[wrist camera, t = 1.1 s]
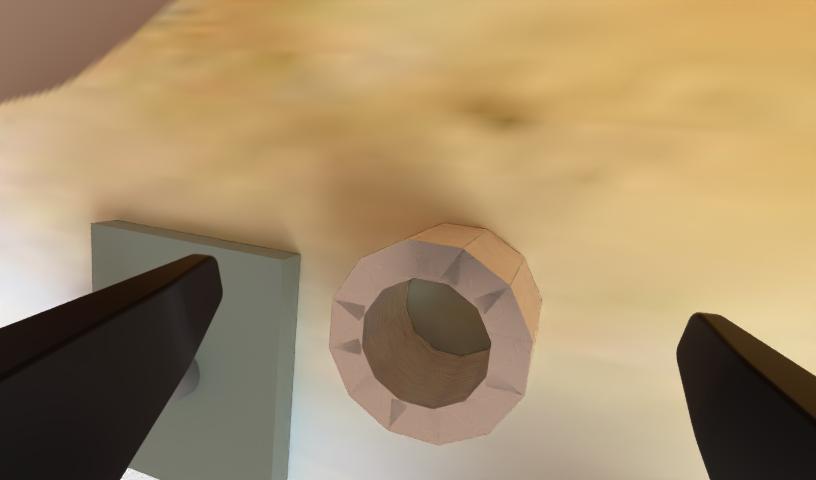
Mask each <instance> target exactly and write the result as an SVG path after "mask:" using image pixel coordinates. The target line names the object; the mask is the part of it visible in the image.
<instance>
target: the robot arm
mask: <svg viewBox="0 0 816 480" xmlns="http://www.w3.org/2000/svg"><path fill="white" fill-rule="evenodd" d="M222 297H223V287H222V282H221V277H220V271H219V266H218V262H217V260H216V258H215V257H214V256H212V255H204V254H191V255H188V256H186V257H183V258H181V259H178V260H175V261H173V262H170V263H168V264H165V265H162V266H160V267H157V268H155V269H152V270H150V271H147V272H144V273H142V274H139V275H137V276H134V277H131V278H129V279H126V280H124V281H121V282H119V283H116V284H113V285H111V286H108V287H106V288H103V289H101V290H98V291H95V292H93V293H90V294H88V295H85V296H82V297H80V298H77V299H75V300H72V301H70V302H67V303H64V304H62V305H59V306H57V307H54V308H51V309H49V310H46V311H44V312H41V313H39V314H36V315H33V316H31V317H28V318H26V319H23V320H20V321H18V322H15V323H13V324H10V325H8V326H5V327H2V328H0V480H120V479H121V478H122V476H123V474H124V473H125V471H126V470H127V468H128V466H129V465H130V463H131V461H132V460H133V458H134V457H135V455H136V453H137V452H138V450H139V448H140V447H141V445H142V444H143V442H144V440H145V439H146V437H147V436H148V434H149V432H150V431H151V429H152V427H153V426H154V424H155V423H156V421H157V419H158V418H159V416H160V414H161V413H162V411H163V410H164V408H165V406H166V405H167V403H168V401H169V400H170V398H171V397H172V395H173V393H174V392H175V390H176V388H177V387H178V385H179V384H180V382H181V380H182V379H183V377H184V375H185V374H186V372H187V370H188V369H189V367H190V365H191V363H192V361H193V359H194V358H195V356H196V354H197V351H198V349H199V347H200V345H201V343H202V341H203V339H204V337H205V335H206V332H207V330H208V328H209V326H210V324H211V322H212V320H213V318H214V316H215V314H216V311H217V309H218V307H219V305H220V303H221V300H222ZM676 356H677V363H678V367H679V371H680V376H681V380H682V384H683V389H684V393H685V397H686V402H687V406H688V410H689V415H690V419H691V423H692V427H693V431H694V434H695V438H696V441H697V444H698V447H699V450H700V453H701V456H702V458H703V461H704V464H705V467H706V470H707V472H708V475H709V478H710V480H816V376H814V375H813V374H811V373H810V372H808V371H807V370H805V369H804V368H802V367H800V366H799V365H797V364H796V363H794V362H793V361H791V360H790V359H788V358H787V357H785V356H783V355H782V354H780V353H779V352H777V351H776V350H774V349H773V348H771V347H769V346H768V345H766V344H765V343H763V342H762V341H760V340H759V339H757V338H756V337H754V336H752V335H751V334H749V333H748V332H746V331H745V330H743V329H742V328H740V327H738V326H737V325H735V324H734V323H732V322H731V321H729V320H728V319H726V318H724V317H723V316H721V315H718V314H709V313H700V312H697V313H695V314H693V315H692V316H691V317H690V319H689V321H688V323H687V326H686V328H685V330H684V333H683V335H682V337H681V340H680V342H679V344H678V347H677V353H676Z"/></svg>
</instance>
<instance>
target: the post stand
mask: <svg viewBox="0 0 816 480" xmlns="http://www.w3.org/2000/svg"><path fill="white" fill-rule="evenodd" d="M91 242H92V284H93V292H95V291H98V290H101V289H103V288H106V287H108V286H111V285H113V284H116V283H119V282H121V281H124V280H126V279H129V278H131V277H134V276H137V275H139V274H142V273H144V272H147V271H150V270H152V269H155V268H157V267H160V266H162V265H165V264H168V263H170V262H173V261H175V260H178V259H181V258H183V257H186V256H188V255H191V254H204V255H212V256H214V257H215V258H216V260H217V262H218V266H219V271H220V277H221V282H222V287H223V297H222V300H221V303H220V305H219V307H218V309H217V311H216V314H215V316H214V318H213V320H212V322H211V324H210V326H209V328H208V330H207V332H206V335H205V337H204V339H203V341H202V343H201V345H200V347H199V349H198V351H197V354H196V356H195V358H194V359H193V361H192V363H191V365H190V367H189V369H188V370H187V372H186V374H185V375H184V377H183V379H182V380H181V382H180V384H179V385H178V387H177V388H176V390H175V392H174V393H173V395H172V397H171V398H170V400H169V401H168V403H167V405H166V406H165V408H164V410H163V411H162V413H161V414H160V416H159V418H158V419H157V421H156V423H155V424H154V426H153V427H152V429H151V431H150V432H149V434H148V436H147V437H146V439H145V440H144V442H143V444H142V445H141V447H140V448H139V450H138V452H137V453H136V455H135V457H134V458H133V460H132V461H131V463H130V465H129V466H128V468H131V469H134V470H136V471H139V472H141V473H144V474H147V475H149V476H152V477H154V478H157V479H159V480H287V471H288V455H289V438H290V421H291V404H292V388H293V371H294V354H295V338H296V321H297V304H298V288H299V271H300V254H295V253H290V252H284V251H279V250H274V249H268V248H263V247H257V246H252V245H247V244H241V243H236V242H231V241H225V240H220V239H214V238H209V237H204V236H198V235H193V234H187V233H182V232H177V231H171V230H166V229H161V228H155V227H150V226H144V225H139V224H134V223H128V222H123V221H117V220H114V221H105V222H97V223H91Z"/></svg>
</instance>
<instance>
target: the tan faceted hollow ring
mask: <svg viewBox="0 0 816 480" xmlns="http://www.w3.org/2000/svg"><path fill="white" fill-rule="evenodd" d="M412 278H417V279H422V280H428V281H433V282H438V283H444V284H448V285H450V286H451V287H452V288H453V289H454V290H456V291H457V292H458V293H459V294H461V295H462V296H463V297H464V298H465V299H467V300H468V301H469V302H470V303H472V304H473V305H474V306H475V307H476V308H477V309H478V311H479V314H480V316H481V318H482V321H483V323H484V326H485V328H486V331H487V333H488V335H489V338H490V340H491V346H490V347H489V349H486V350H483V351H479V352H476V353H473V354H469V355H466V356H459V355H455V354H450V353H446V352H442V351H438V350H436V349H435V348H433V347H432V346H431V345H430V344H429V343H428V342H426V341H425V340H424V339H423V338H422V337H421V336H419V335H418V334H417V333H416V331H415V329H414V326H413V324H412V322H411V319H410V317H409V314H408V312H407V310H406V303H407V294H408V284H409V282H410V280H411V279H412ZM541 302H542V299H541V297H540V295H539V292H538V290H537V287H536V285H535V283H534V280H533V278H532V275H531V273H530V270H529V268H528V266H527V263H526V261H525V258H524V257H523V256H521V255H520V254H519V253H518V252H516V251H515V250H514V249H512V248H511V247H510V246H509V245H507V244H506V243H505V242H503V241H502V240H501V239H500V238H498V237H497V236H496V235H494V234H493V233H492V232H491V231H489V230H487V229H482V228H475V227H468V226H462V225H455V224H448V223H443V224H440V225H438V226H435V227H433V228H431V229H428V230H426V231H423V232H421V233H418V234H416V235H414V236H411V237H409V238H406V239H404V240H402V241H400V242H397V243H395V244H393V245H390V246H388V247H386V248H384V249H381V250H379V251H377V252H374V253H372V254H370V255H368V256H365V257H363V258H361V259H360V260H359V261H358V263H357V264H356V266H355V267H354V269H353V270H352V271H351V273H350V274H349V276H348V277H347V279H346V280H345V282H344V283H343V284H342V286H341V287H340V289H339V290H338V292H337V293H336V295H335V296H334V297H333V302H332V315H331V329H330V342H329V347H330V348H329V349H330V351H331V353H332V356H333V358H334V361H335V363H336V365H337V368H338V370H339V373H340V375H341V377H342V380H343V382H344V384H345V387H346V389H347V392H348V394H350V395H349V396H351V397H352V398H353V399H354V400H355V401H356V402H357V403H358V404H359V405H360V406H362V407H363V408H364V409H365V410H366V411H367V412H368V413H369V414H370V415H371V416H373V417H374V418H375V419H376V420H377V421H378V422H379V423H380V424H381V425H383V426H384V427H385V428H386V429H387V430H388V431H392V432H395V433H398V434H402V435H405V436H409V437H412V438H415V439H419V440H422V441H426V442H429V443H432V444H436V445H442V444H446V443H450V442H455V441H459V440H463V439H468V438H472V437H477V436H481V435H485V434H488V433H490V432H491V431H492V430H493V429H494V427H495V426H496V425H497V424H498V423H499V422H500V421H501V420H502V419H503V418H504V417H505V416H506V415H507V414H508V413H509V412H510V411H511V410H512V408H513V407H514V406H515V405H516V404H517V403H518V402H519V401H520V400H521V399H522V398H523V397H524V395H525V390H526V385H527V380H528V375H529V370H530V365H531V360H532V355H533V350H534V345H535V339H536V333H537V327H538V320H539V314H540V308H541Z"/></svg>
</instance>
